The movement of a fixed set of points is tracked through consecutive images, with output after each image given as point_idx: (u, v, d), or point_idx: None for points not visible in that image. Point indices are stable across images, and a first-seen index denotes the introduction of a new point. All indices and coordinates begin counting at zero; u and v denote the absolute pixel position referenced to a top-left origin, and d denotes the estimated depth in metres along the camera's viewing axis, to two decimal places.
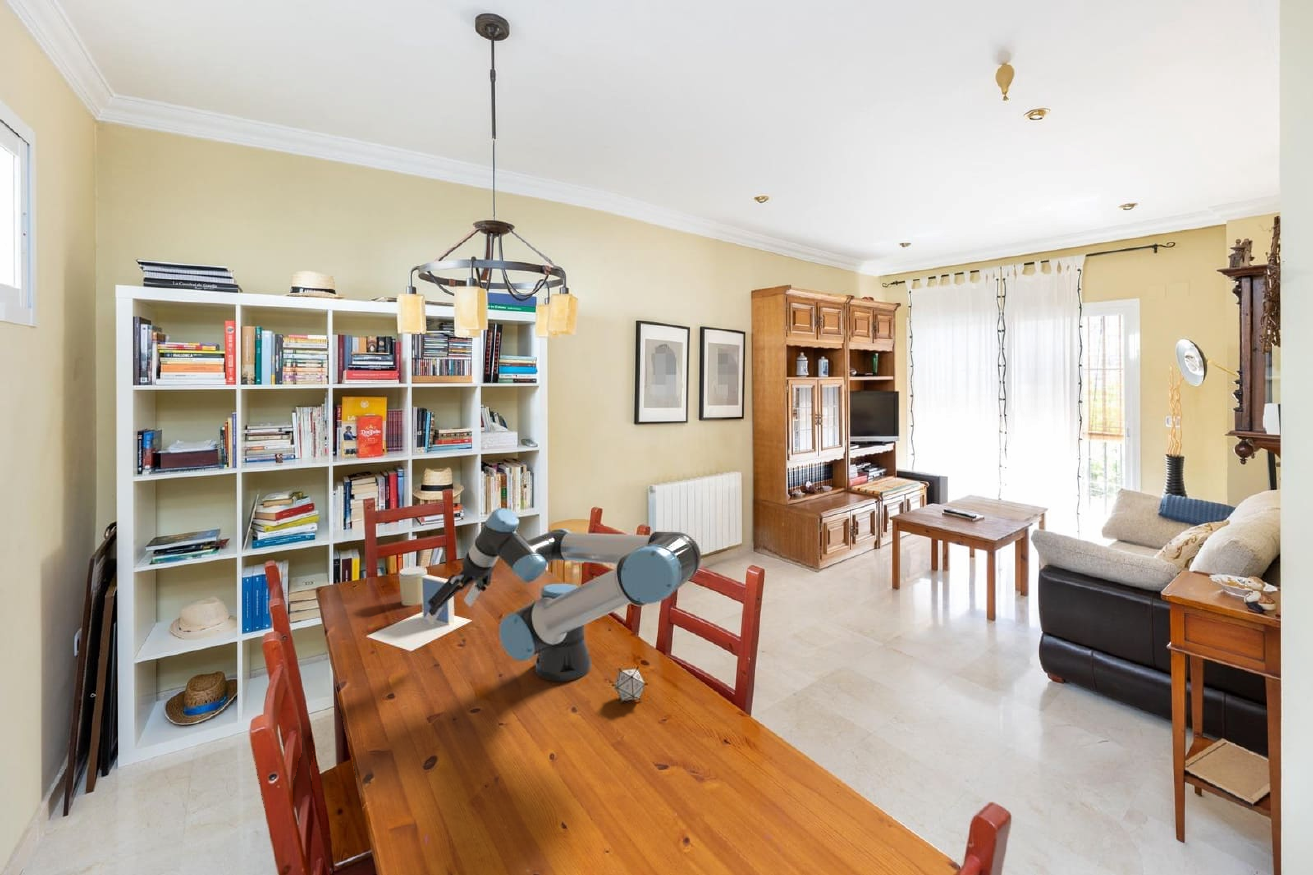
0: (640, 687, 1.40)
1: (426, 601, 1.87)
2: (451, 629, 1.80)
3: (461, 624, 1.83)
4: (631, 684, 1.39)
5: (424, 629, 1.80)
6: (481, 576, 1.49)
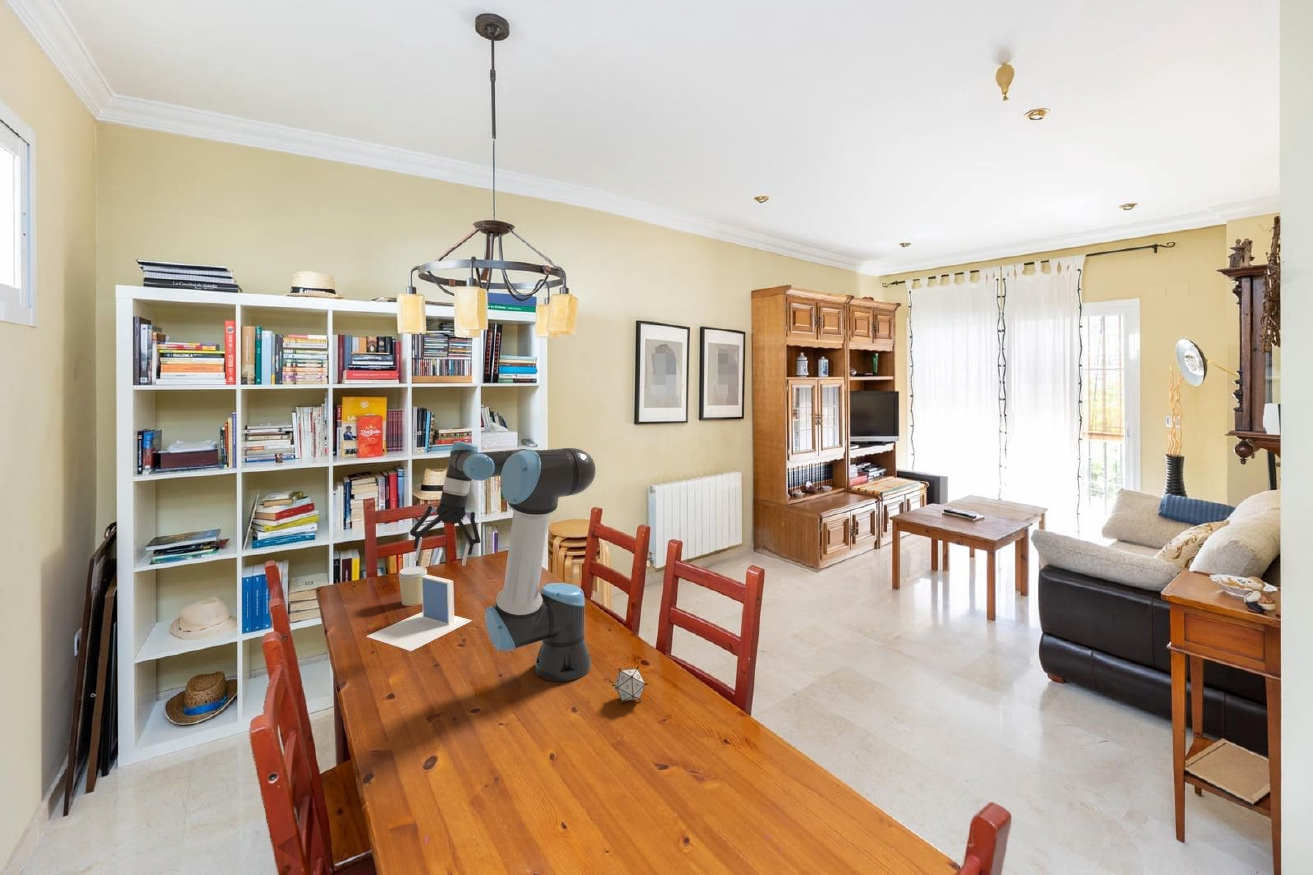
0: (640, 687, 1.40)
1: (426, 601, 1.87)
2: (451, 629, 1.80)
3: (461, 624, 1.83)
4: (631, 684, 1.39)
5: (424, 629, 1.80)
6: (449, 503, 1.68)
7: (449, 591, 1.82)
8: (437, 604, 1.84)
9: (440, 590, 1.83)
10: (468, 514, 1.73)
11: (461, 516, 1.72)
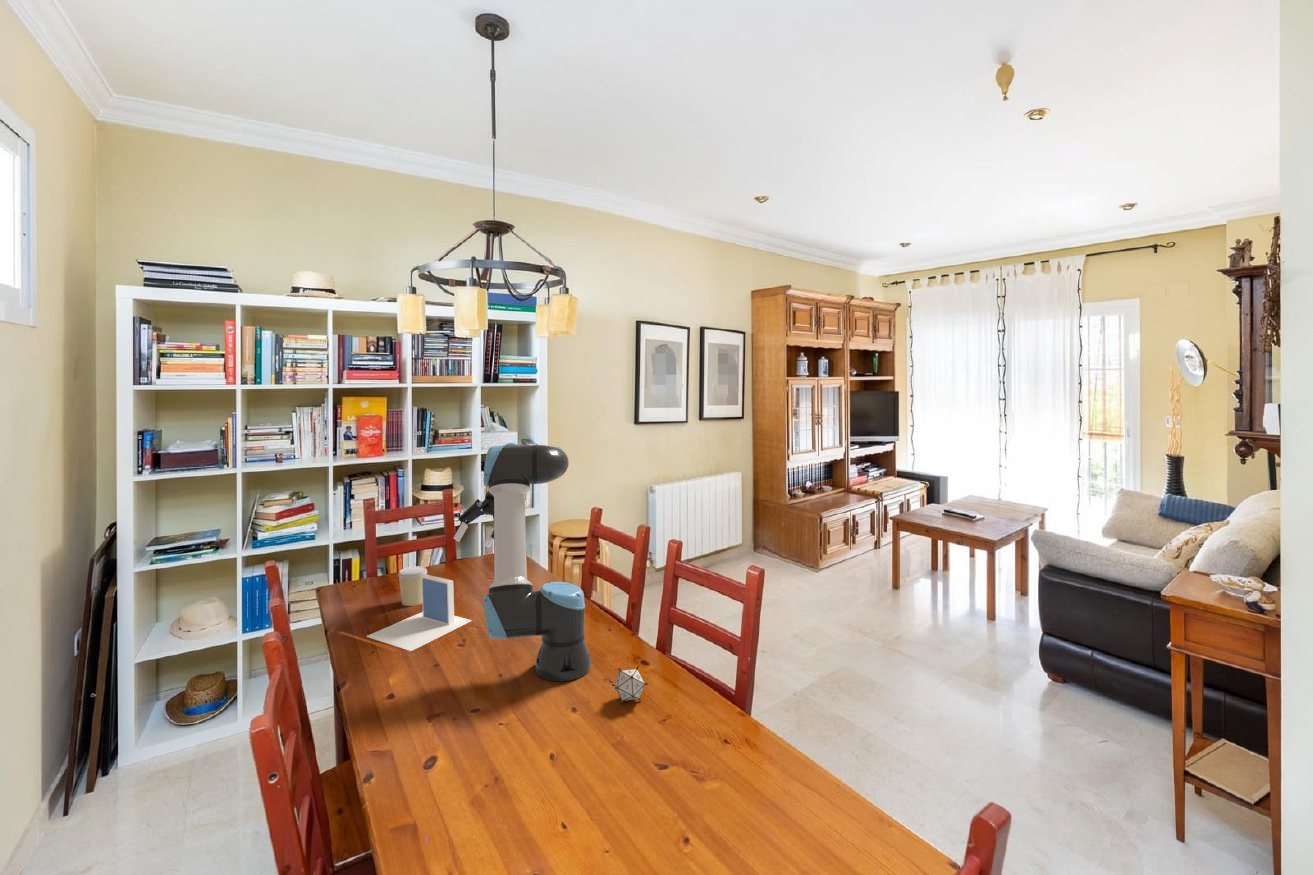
0: (640, 687, 1.40)
1: (426, 601, 1.87)
2: (451, 629, 1.80)
3: (461, 624, 1.83)
4: (631, 684, 1.39)
5: (424, 629, 1.80)
6: (487, 493, 2.05)
7: (449, 591, 1.82)
8: (437, 604, 1.84)
9: (440, 590, 1.83)
10: None
11: None
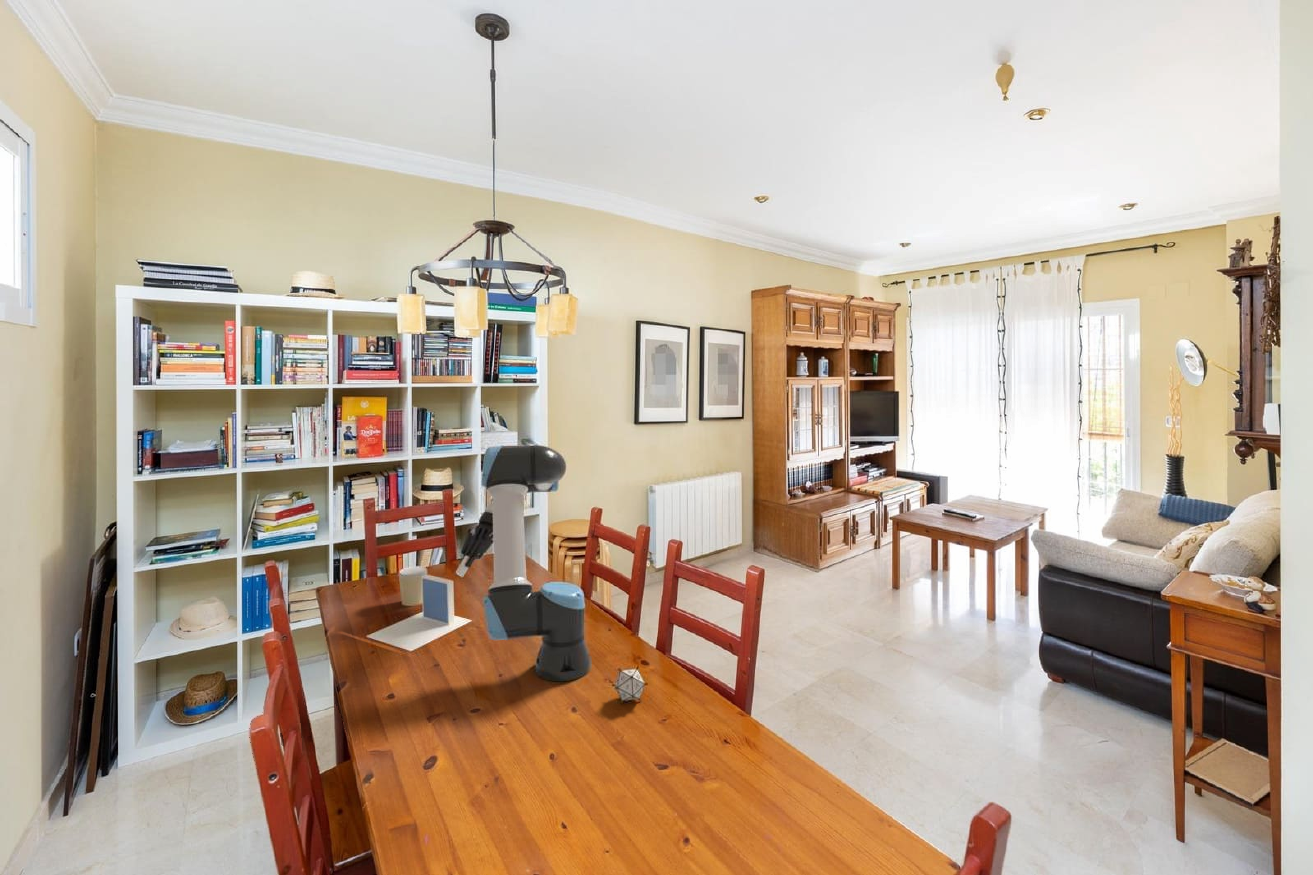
0: (640, 687, 1.40)
1: (426, 601, 1.87)
2: (451, 629, 1.80)
3: (461, 624, 1.83)
4: (631, 684, 1.39)
5: (424, 629, 1.80)
6: (481, 517, 2.04)
7: (449, 591, 1.82)
8: (437, 604, 1.84)
9: (440, 590, 1.83)
10: None
11: (488, 531, 2.01)
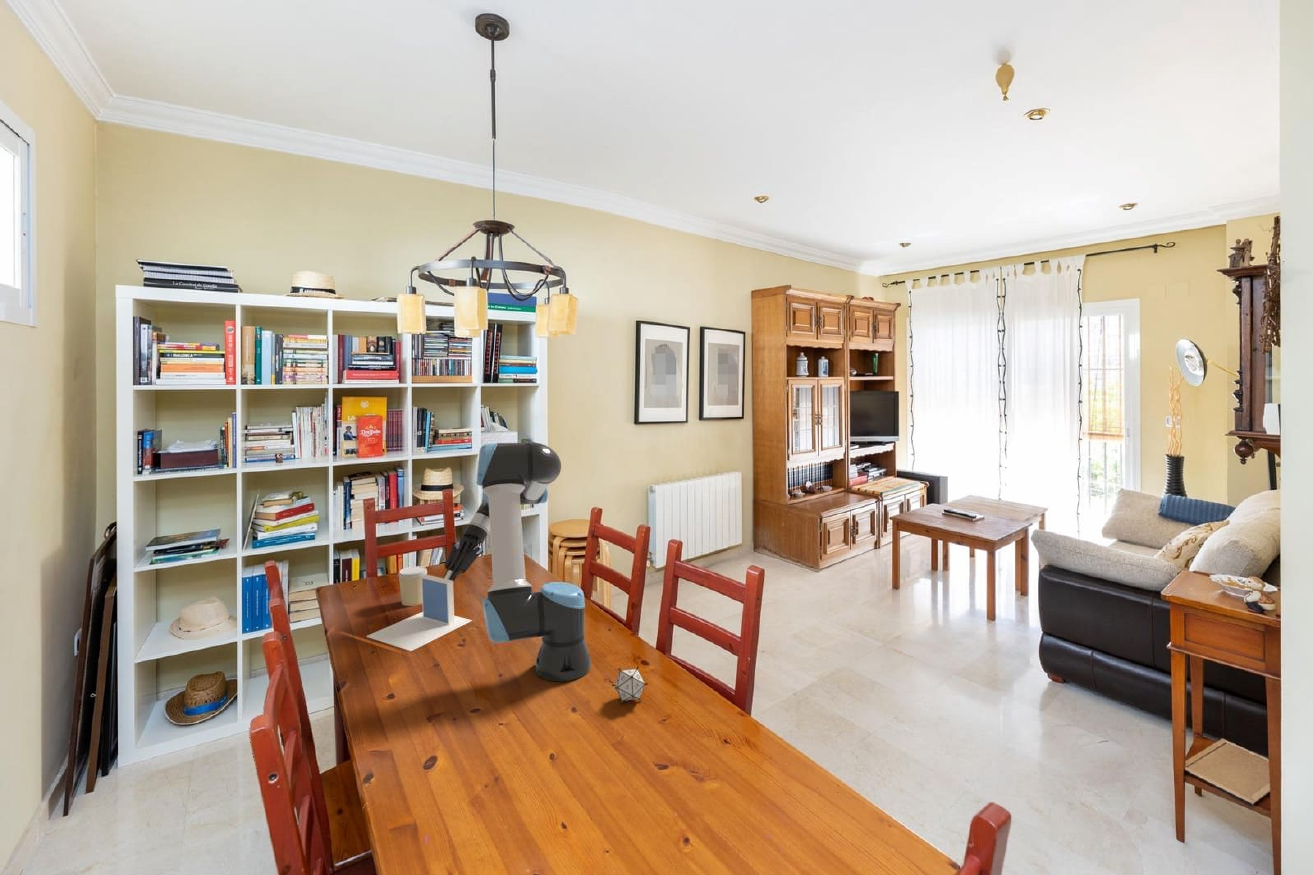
0: (640, 687, 1.40)
1: (426, 601, 1.87)
2: (451, 629, 1.80)
3: (461, 624, 1.83)
4: (631, 684, 1.39)
5: (424, 629, 1.80)
6: (465, 530, 1.97)
7: (449, 591, 1.82)
8: (437, 604, 1.84)
9: (440, 590, 1.83)
10: (477, 547, 1.95)
11: (473, 545, 1.95)
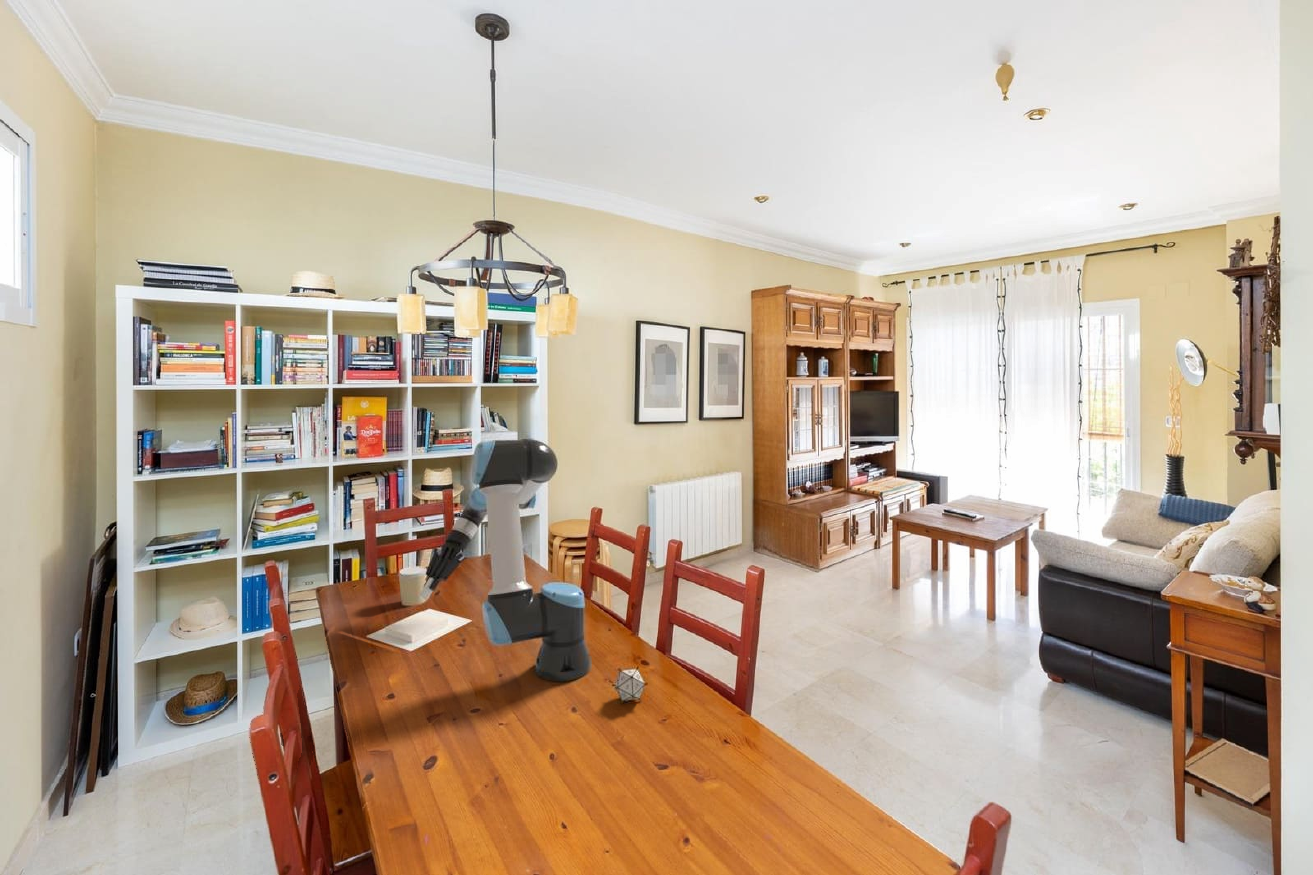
0: (640, 687, 1.40)
1: None
2: (451, 629, 1.80)
3: (461, 624, 1.83)
4: (631, 684, 1.39)
5: None
6: (448, 536, 1.90)
7: (420, 636, 1.73)
8: None
9: None
10: None
11: (455, 551, 1.88)
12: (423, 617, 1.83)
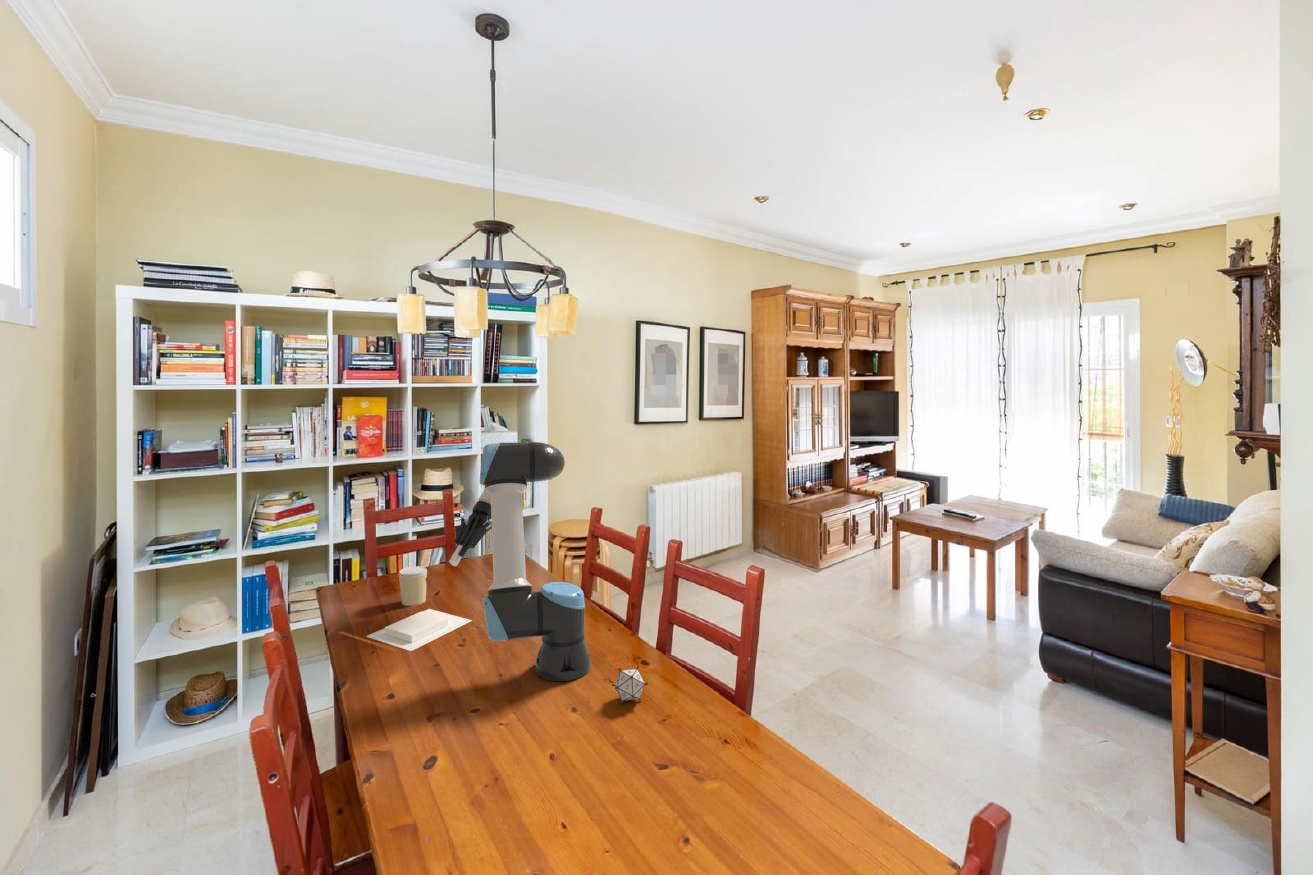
0: (640, 687, 1.40)
1: None
2: (451, 629, 1.80)
3: (461, 624, 1.83)
4: (631, 684, 1.39)
5: None
6: (474, 506, 2.00)
7: (420, 636, 1.73)
8: None
9: None
10: None
11: (482, 520, 1.98)
12: (423, 617, 1.83)
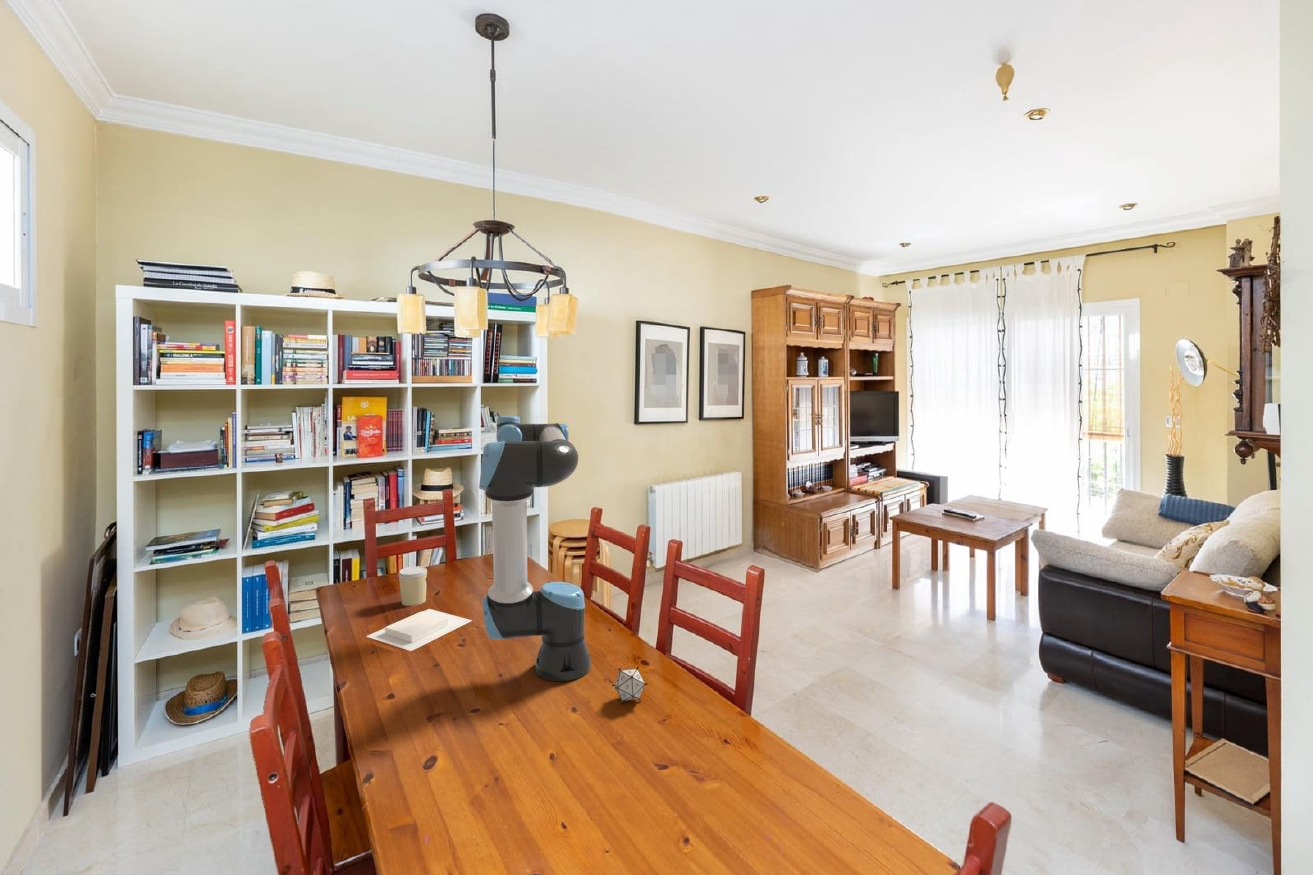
0: (640, 687, 1.40)
1: None
2: (451, 629, 1.80)
3: (461, 624, 1.83)
4: (631, 684, 1.39)
5: None
6: None
7: (420, 636, 1.73)
8: None
9: None
10: None
11: None
12: (423, 617, 1.83)
